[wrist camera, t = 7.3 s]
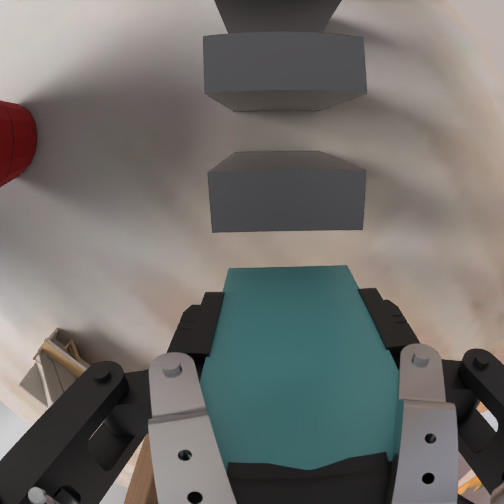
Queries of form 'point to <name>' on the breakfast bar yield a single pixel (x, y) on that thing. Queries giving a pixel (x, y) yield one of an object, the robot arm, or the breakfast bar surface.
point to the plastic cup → (15, 140)
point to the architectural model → (53, 370)
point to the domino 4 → (298, 370)
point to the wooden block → (143, 479)
